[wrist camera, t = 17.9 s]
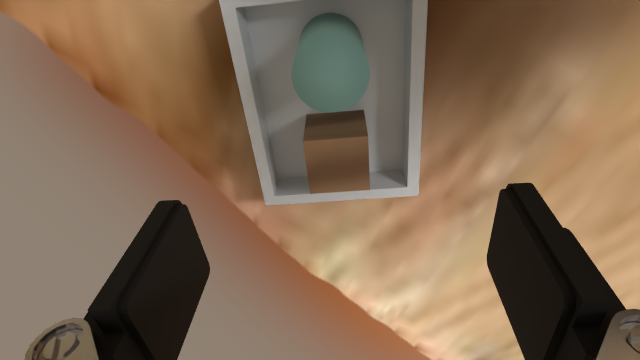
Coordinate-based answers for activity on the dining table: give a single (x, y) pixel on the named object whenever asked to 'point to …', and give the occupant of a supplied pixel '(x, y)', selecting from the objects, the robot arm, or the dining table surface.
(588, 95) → the dining table surface
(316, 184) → the walnut cube
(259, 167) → the grey tote
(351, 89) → the teal rounded capsule
